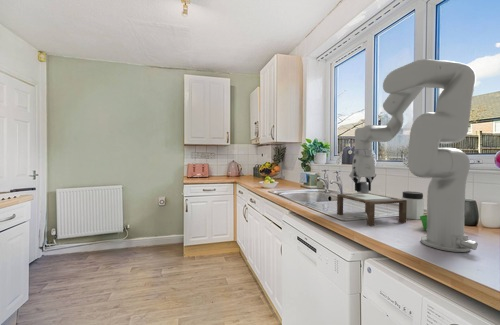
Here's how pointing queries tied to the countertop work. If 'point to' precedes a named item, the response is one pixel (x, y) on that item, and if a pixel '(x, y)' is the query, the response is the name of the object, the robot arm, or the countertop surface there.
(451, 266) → the countertop surface
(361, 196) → the trapdoor
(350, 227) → the countertop surface
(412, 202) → the jar
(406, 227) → the countertop surface
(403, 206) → the trapdoor frame
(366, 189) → the metal canister
